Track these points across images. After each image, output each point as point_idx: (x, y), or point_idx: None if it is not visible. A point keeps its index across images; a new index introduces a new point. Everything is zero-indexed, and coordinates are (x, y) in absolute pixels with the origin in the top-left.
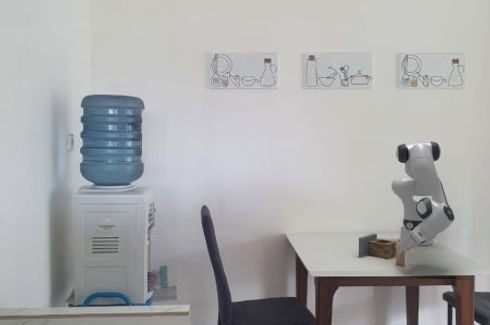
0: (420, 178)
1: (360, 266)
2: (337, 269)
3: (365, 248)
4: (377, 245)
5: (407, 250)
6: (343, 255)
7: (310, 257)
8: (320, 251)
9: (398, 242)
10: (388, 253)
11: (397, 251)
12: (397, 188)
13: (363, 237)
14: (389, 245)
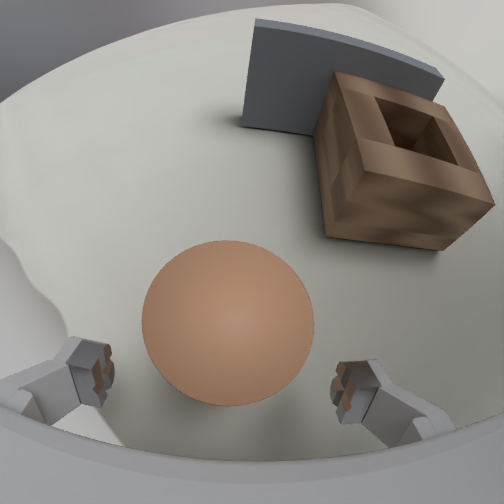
0: None
1: (69, 175)
2: (5, 141)
3: (287, 93)
4: (340, 118)
5: (332, 396)
6: (232, 75)
7: (134, 42)
8: (233, 35)
9: (220, 280)
10: (340, 215)
11: (68, 346)
12: None
13: (290, 28)
14: (379, 178)
